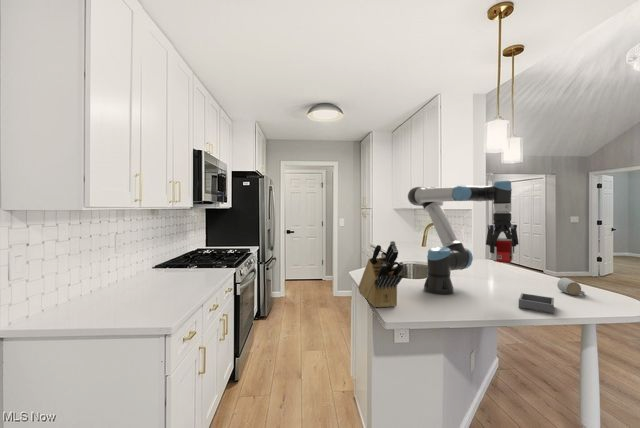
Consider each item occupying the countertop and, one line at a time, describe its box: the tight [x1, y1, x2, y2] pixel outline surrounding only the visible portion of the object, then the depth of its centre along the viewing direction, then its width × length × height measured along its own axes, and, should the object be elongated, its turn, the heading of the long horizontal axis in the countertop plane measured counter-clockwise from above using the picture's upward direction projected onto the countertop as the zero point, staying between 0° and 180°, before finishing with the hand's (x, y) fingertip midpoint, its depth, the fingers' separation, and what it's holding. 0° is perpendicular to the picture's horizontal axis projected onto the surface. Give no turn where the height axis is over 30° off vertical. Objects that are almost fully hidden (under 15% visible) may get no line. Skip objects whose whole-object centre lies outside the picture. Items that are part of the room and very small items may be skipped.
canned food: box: [492, 237, 513, 263], centre depth 148 cm, size 8×8×11 cm
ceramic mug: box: [556, 277, 586, 296], centre depth 163 cm, size 11×8×8 cm
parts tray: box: [518, 292, 555, 315], centre depth 141 cm, size 13×13×4 cm
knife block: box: [358, 240, 404, 309], centre depth 148 cm, size 11×35×31 cm, turn 9°
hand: (502, 259), depth 148 cm, fingers closed on canned food, 8 cm apart
